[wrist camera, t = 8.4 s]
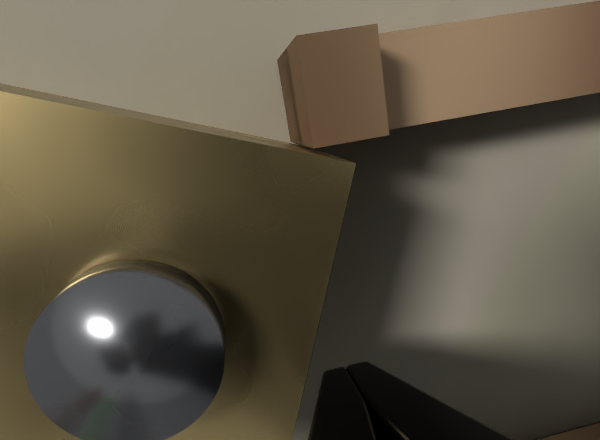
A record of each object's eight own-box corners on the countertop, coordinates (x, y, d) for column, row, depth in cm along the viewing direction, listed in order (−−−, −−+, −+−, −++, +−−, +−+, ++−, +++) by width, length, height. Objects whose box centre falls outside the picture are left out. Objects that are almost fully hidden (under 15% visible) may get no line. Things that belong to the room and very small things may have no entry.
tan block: (310, 146, 9) (369, 168, 5) (259, 393, 10) (276, 560, 6) (-119, 58, 8) (-484, -4, 4) (-124, 359, 9) (-407, 550, 5)
